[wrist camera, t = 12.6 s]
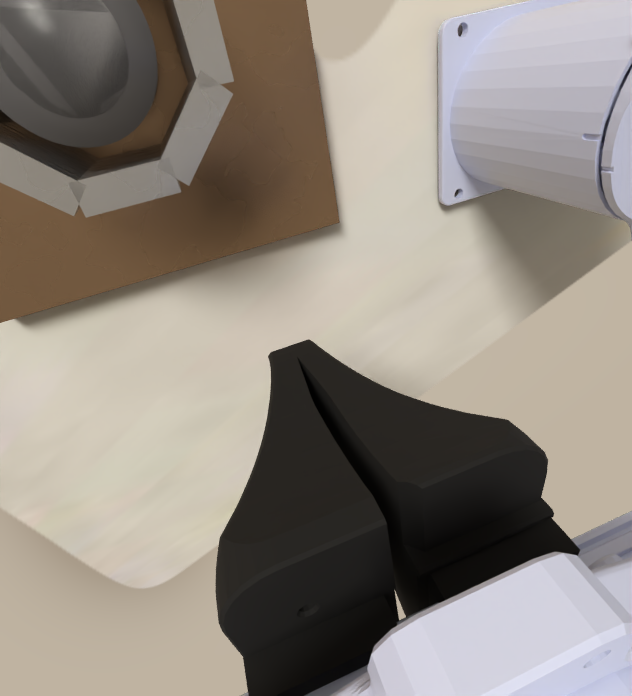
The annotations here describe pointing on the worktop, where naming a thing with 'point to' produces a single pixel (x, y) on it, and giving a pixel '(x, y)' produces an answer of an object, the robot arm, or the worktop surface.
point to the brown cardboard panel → (174, 162)
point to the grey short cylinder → (76, 68)
